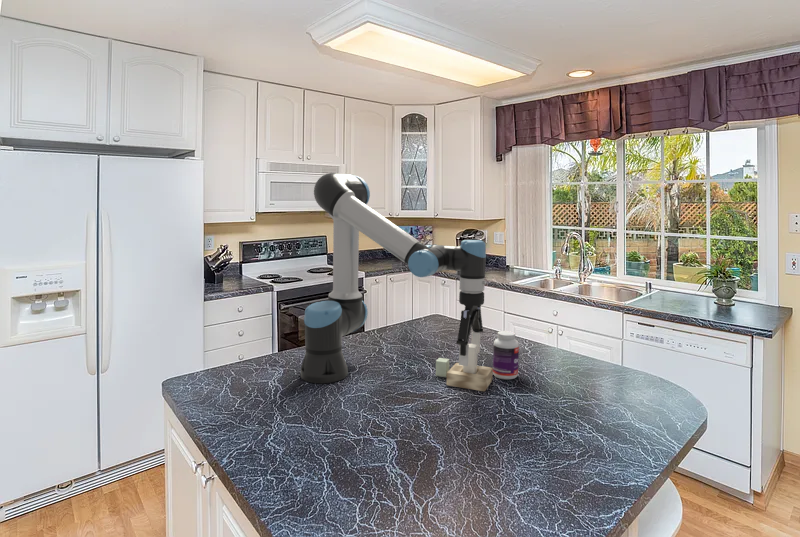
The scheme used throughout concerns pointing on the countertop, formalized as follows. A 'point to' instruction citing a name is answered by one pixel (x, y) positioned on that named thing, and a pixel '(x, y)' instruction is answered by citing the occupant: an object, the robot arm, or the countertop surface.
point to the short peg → (442, 367)
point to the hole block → (470, 378)
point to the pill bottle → (505, 355)
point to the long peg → (472, 360)
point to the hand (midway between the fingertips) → (469, 358)
